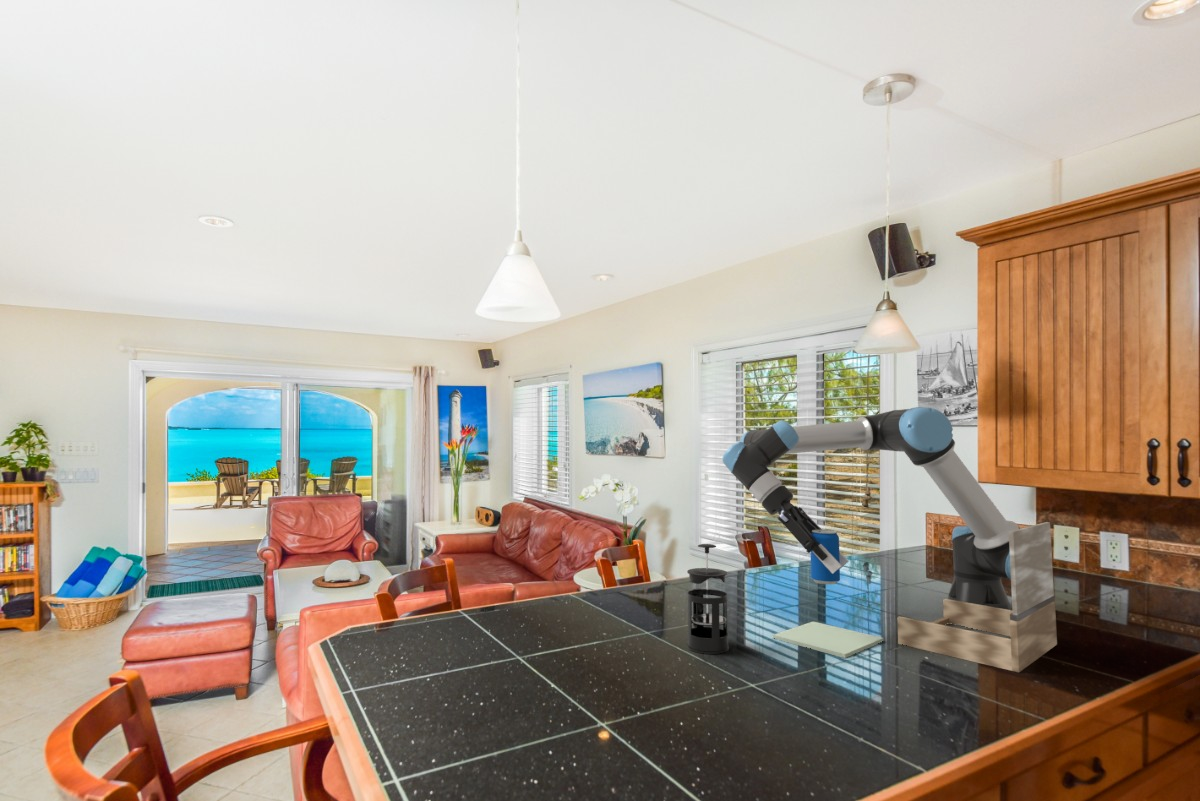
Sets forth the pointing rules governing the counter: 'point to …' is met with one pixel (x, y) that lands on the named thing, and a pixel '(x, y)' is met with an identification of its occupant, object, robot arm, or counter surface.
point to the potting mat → (828, 639)
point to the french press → (700, 636)
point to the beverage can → (832, 546)
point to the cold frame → (999, 613)
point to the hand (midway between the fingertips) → (840, 567)
